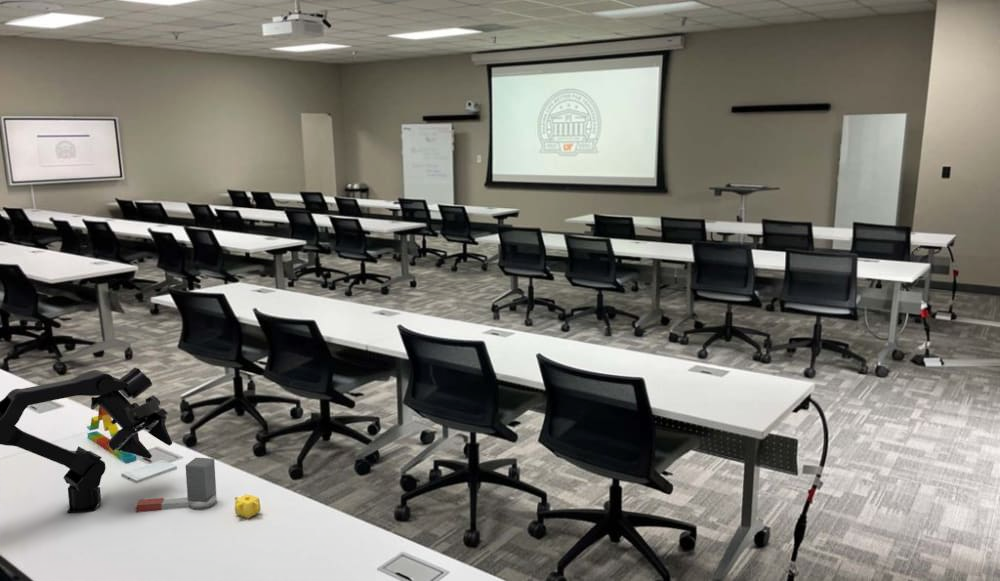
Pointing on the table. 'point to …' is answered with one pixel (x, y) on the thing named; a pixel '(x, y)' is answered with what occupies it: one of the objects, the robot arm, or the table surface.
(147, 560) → the table surface
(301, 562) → the table surface
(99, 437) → the chart
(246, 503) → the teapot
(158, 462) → the hard drive
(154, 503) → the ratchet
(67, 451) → the robot arm
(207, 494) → the brushed steel square block
